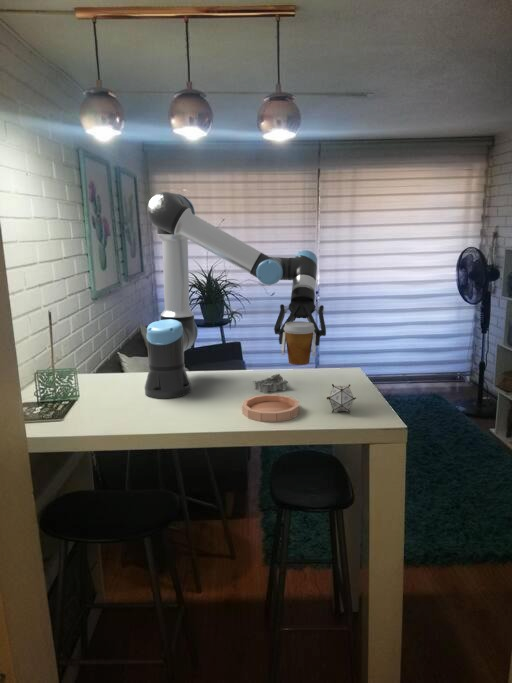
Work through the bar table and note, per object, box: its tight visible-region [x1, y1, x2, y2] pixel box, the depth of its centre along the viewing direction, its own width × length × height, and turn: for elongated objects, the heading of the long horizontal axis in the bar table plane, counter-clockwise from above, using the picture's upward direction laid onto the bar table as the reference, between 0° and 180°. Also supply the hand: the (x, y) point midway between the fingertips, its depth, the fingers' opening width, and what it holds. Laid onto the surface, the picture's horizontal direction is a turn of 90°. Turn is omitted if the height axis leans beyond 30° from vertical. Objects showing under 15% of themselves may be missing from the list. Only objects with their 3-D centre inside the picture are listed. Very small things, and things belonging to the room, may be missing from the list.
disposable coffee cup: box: [283, 320, 315, 366], centre depth 154 cm, size 10×10×12 cm
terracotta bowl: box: [241, 394, 300, 423], centre depth 150 cm, size 16×16×2 cm
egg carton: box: [252, 373, 289, 394], centre depth 172 cm, size 11×8×4 cm
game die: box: [325, 383, 357, 414], centre depth 149 cm, size 9×8×10 cm
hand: (298, 353), depth 152 cm, fingers closed on disposable coffee cup, 8 cm apart
